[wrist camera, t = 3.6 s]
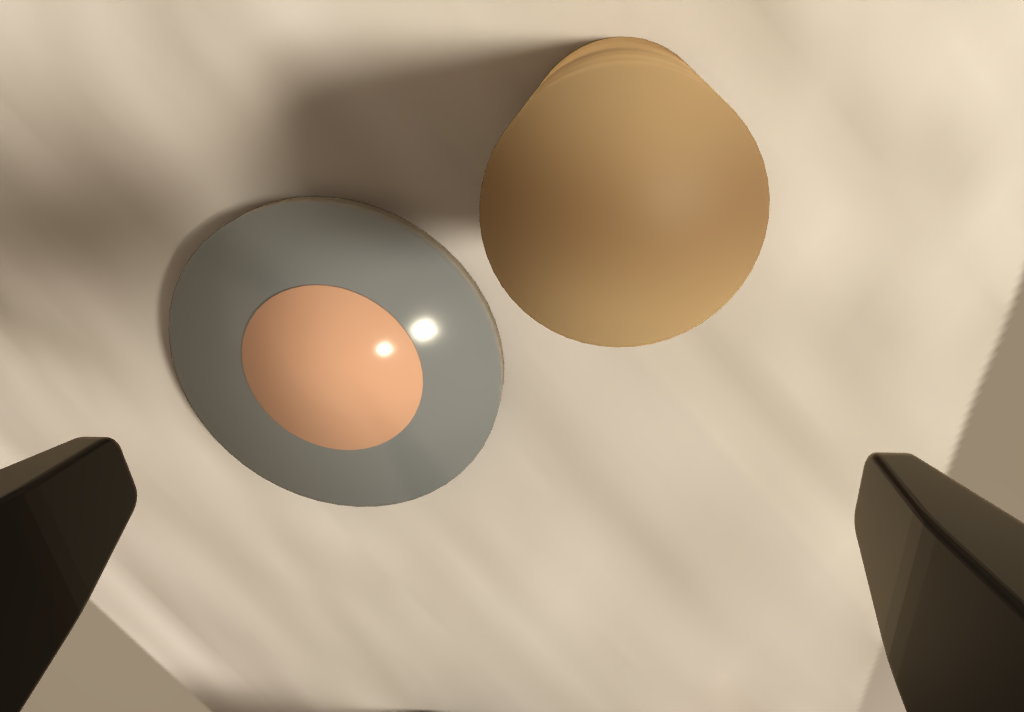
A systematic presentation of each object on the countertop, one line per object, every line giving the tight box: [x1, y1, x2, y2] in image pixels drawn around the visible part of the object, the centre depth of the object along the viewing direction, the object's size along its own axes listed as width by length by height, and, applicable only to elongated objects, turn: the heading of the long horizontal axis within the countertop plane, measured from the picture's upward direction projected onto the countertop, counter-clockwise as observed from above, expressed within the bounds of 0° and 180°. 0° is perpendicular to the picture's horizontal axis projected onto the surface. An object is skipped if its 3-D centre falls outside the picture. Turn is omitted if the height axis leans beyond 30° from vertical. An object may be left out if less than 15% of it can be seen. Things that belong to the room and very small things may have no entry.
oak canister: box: [480, 37, 770, 347], centre depth 16 cm, size 5×5×8 cm
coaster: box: [169, 196, 504, 507], centre depth 23 cm, size 11×11×1 cm
